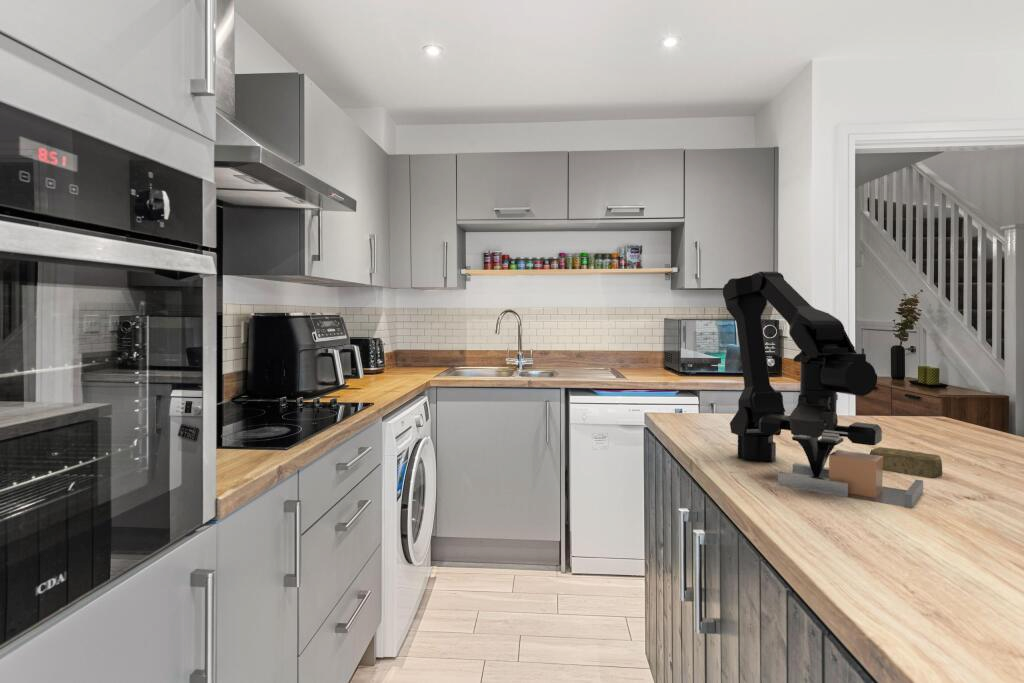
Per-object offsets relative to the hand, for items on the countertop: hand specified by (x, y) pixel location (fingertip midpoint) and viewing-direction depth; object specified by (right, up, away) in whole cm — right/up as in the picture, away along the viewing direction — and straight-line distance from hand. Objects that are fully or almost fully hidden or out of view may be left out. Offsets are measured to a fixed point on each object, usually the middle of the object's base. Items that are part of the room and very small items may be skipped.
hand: (816, 476), depth 105 cm
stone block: (+21, -2, +9) cm, 23 cm away
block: (+4, -1, -4) cm, 6 cm away
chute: (+4, -2, -3) cm, 5 cm away
